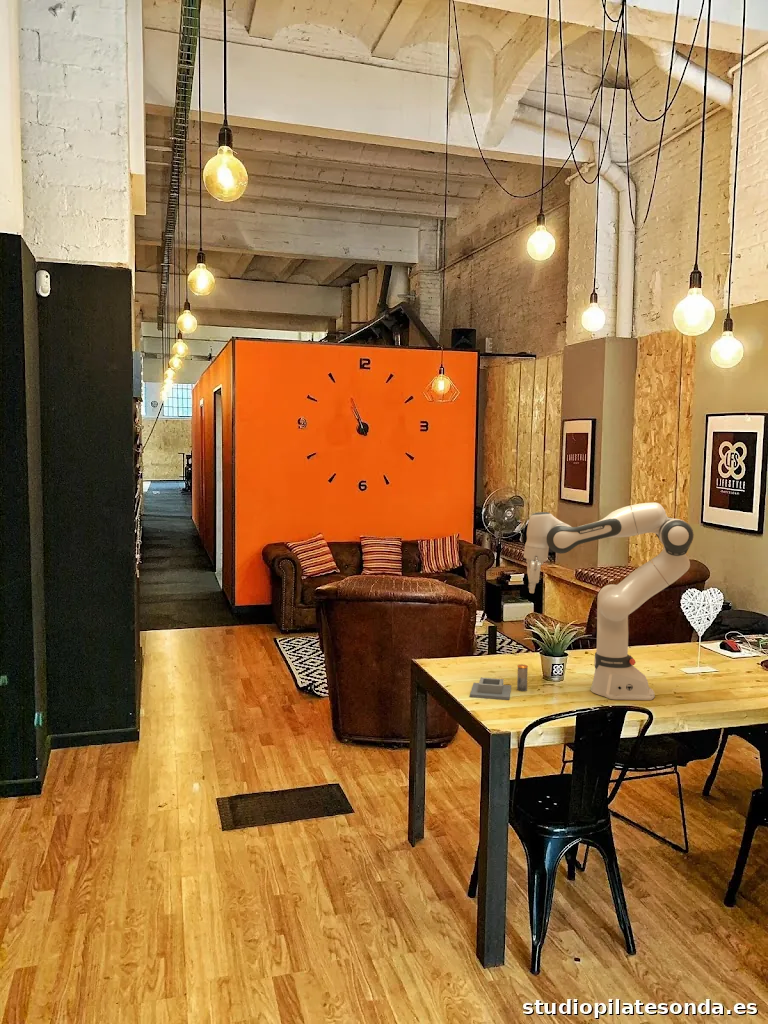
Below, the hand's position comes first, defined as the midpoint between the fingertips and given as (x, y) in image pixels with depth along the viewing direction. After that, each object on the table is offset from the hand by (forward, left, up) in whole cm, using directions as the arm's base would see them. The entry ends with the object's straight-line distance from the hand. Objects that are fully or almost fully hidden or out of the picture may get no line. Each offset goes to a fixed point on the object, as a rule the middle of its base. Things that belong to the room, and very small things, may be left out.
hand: (531, 590), depth 292 cm
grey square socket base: (+13, +15, -36) cm, 41 cm away
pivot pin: (+2, +9, -36) cm, 37 cm away
